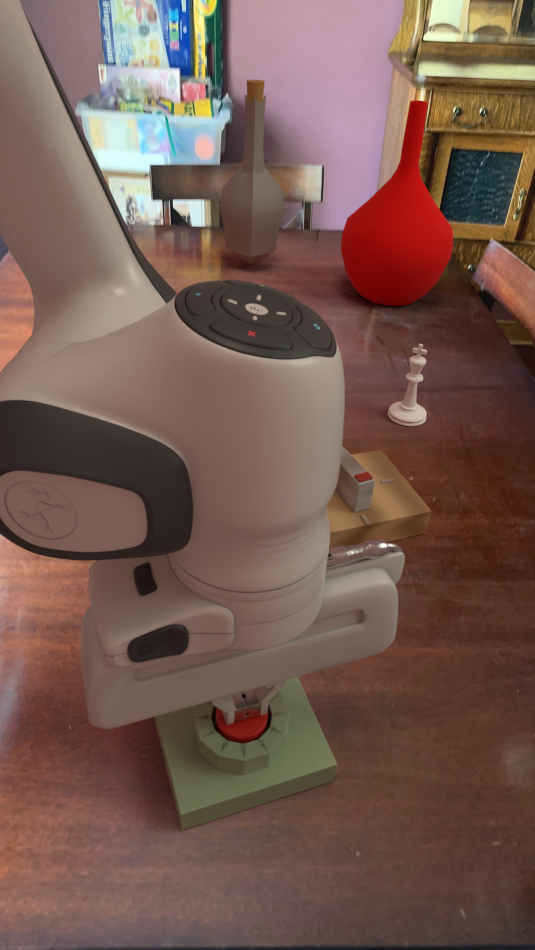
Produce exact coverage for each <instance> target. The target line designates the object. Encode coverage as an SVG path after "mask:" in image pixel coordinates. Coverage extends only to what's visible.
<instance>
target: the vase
mask: <svg viewBox="0 0 535 950" xmlns="http://www.w3.org/2000/svg"><path fill="white" fill-rule="evenodd" d="M428 104H429V102H428V101H425V100H416V99H415V100H409V106H408V110H407V115H406V116H407V117H406V122H405V127H404V134H403V138H402V145H401V152H400V158H399V163H398V165H397V166H396V170H395V171H394V173H393V174H392V175H391V177H390V178H389V179H388V180H387V181H386V182H385V183H384V184H383V185H382V186H381V187H380V188H379V189H378V190H377V191H376V192H375V193H374V194H373V195H372V196H371V197H370V198H369V199H368V200H367V201H365V202H364V203H363V204H362V205H361V206H360V207H358V208H357V209H356V210H355V211H354V212H352V213H351V214H350V215H349V216H348V217H347V218H346V221H345V224H344V227H343V230H342V233H341V241H340V242H341V243H340V251H341V257H342V261H343V266H344V271H345V273H346V274H347V277H348V280H349V281H350V283H351V285H352V286H353V288H354V289H355V291H356V292H357V293H358V294H359V295H360V296H361V297H362V298H363V299H365V300H367V301H368V302H371V303H374V304H376V305H377V304H378V305H383V306H389V307H390V306H391V307H398V306H399V307H401V306H407V305H411V304H413V303H415V302H416V301H418V300H419V299H421V298H423V297H425V296H426V295H427V294H428V293H429V292H430V291H431V290H432V289H433V288H434V286H435V285H437V283H438V281H439V280H440V278H441V277H442V275H443V273H444V271H445V269H446V267H447V265H448V264H449V262H450V261H451V258H452V253H453V249H454V230H453V227H452V225H451V224H450V223H449V221H448V220H447V218H446V217H445V215H444V214H443V213H442V211H441V209H440V208H439V207H438V205H437V204H436V202H435V200H434V198H433V197H432V195H431V193H430V191H429V190H428V188H427V186H426V185H425V183H424V181H423V179H422V175H421V172H420V160H421V153H422V147H423V140H424V134H425V127H426V119H427V114H428V113H427V112H428Z"/></svg>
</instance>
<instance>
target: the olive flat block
mask: <svg viewBox="0 0 535 950" xmlns="http://www.w3.org/2000/svg"><path fill="white" fill-rule="evenodd" d="M216 709H217V707H215V706H214V705H212V703H211V701H209V702H206V703H202V704H199V705H195V706H192V707H188V708H184V709H181V710H177V711H174V712H170V713H166V714H163V715H159V716H156V717H153V720H154V723H155V727H156V732H157V735H158V740H159V744H160V748H161V751H162V752H161V753H162V756H163V760H164V765H165V768H166V773H167V776H168V782H169V785H170V790H171V794H172V799H173V802H174V807H175V810H176V815H177V818H178V822H179V827H180V830H181V831H184V830H188V829H190V828H193V827H196V826H199V825H203V824H205V823H206V824H207V823H209V822H212V821H215V820H218V819H221V818H223V817H227V816H230V815H233V814H236V813H239V812H243V811H246V810H248V809H251V808H254V807H258V806H261V805H264V804H267V803H270V802H273V801H276V800H280V799H282V798H286V797H289V796H291V795H295V794H297V793H301V792H304V791H307V790H310V789H313V788H316V787H318V786H319V787H320V786H322V785H325V784H328V783H332V782H334V781H335V778H336V772H337V767H338V763H337V761H336V758H335V756H334V754H333V752H332V750H331V748H330V745H329V742H328V740H327V738H326V737H325V734H324V732H323V729H322V727H321V725H320V722H319V720H318V719H317V716H316V714H315V712H314V710H313V707H312V705H311V703H310V701H309V698H308V696H307V694H306V691H305V690H304V687H303V685H302V683H301V681H300V679H299V677H295V678H292V679H288V680H286V684H285V685H284V686H283V687H282V688H281V689H280V690H279V691H278V692H277V693H276V694H275V696H274V697H273V698H272V699H271V700H270V701H268V711H267V712H268V718H267V730H266V732H265V733H264V734H263V735H262V736H261V737H260V738H259V739H258V740H255V741H251V742H248V743H244V744H242V743H237V742H232V741H227V740H226V739H225V738H223V737H222V736H221V735H220V734H219V733H218V732H216Z"/></svg>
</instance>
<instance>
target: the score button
mask: <svg viewBox="0 0 535 950" xmlns="http://www.w3.org/2000/svg"><path fill="white" fill-rule="evenodd" d="M267 718H268V712H267V714H264V715H260V716H257V717H253V718H249V719H245V720H242V721H239V722H236V723H233V724H230V725H226V722H225V719H224V716H223V713H222V711H221V710H220V709H218V708H217V709H216V732H218V733H219V734H220V735H221V736H222V737H223V738H225V739H226V740H227V741H232V742H237V743H242V744H244V743H248V742H251V741H255V740H258V739H259V738H260V737H261V736H262V735H263V734H264V733H265V732H266V730H267Z"/></svg>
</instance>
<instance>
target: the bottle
mask: <svg viewBox="0 0 535 950" xmlns="http://www.w3.org/2000/svg"><path fill="white" fill-rule="evenodd" d="M264 92H265V80H262V79H247V80H246V94H244V113H245V114H244V148H243V149H244V150H243V156H242V163H241V165H242V166H240V167H239V168H238V169H237V170H236V172H235V173H234V174H233V175H232V176H231V177H230V178H229V180H228V181H227V182H226V183H225V184H224V185H223V187H222V191H221V196H220V199H219V204H218V210H219V214H220V216H221V220H222V223H223V227H224V241H225V248H226V249H227V250H228V251H229V252H230V253H231V254H233V256H235V257H236V258H237V259H238V260H240V261H241V262H244V263H245V264H247V265H249V266H252V265H254V264H257V263H259V262H261V261H263V260H264V259H265V258H267V257H268V256H269V255H271V254H272V253H274V251H276V250H277V245H278V237H279V229H280V228H281V227H280V226H281V224H282V221H283V218H284V215H285V212H286V205H285V199H284V192H283V188H282V187H281V186H280V184H279V183H278V182H277V180H276V179H275V178H274V177H273V176H272V174H271V173H270V172H269V170H268V169H267V168H266V167H265V154H264V141H265V140H264V138H265V115H266V114H265V113H266V103H267V95H265V93H264Z"/></svg>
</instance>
